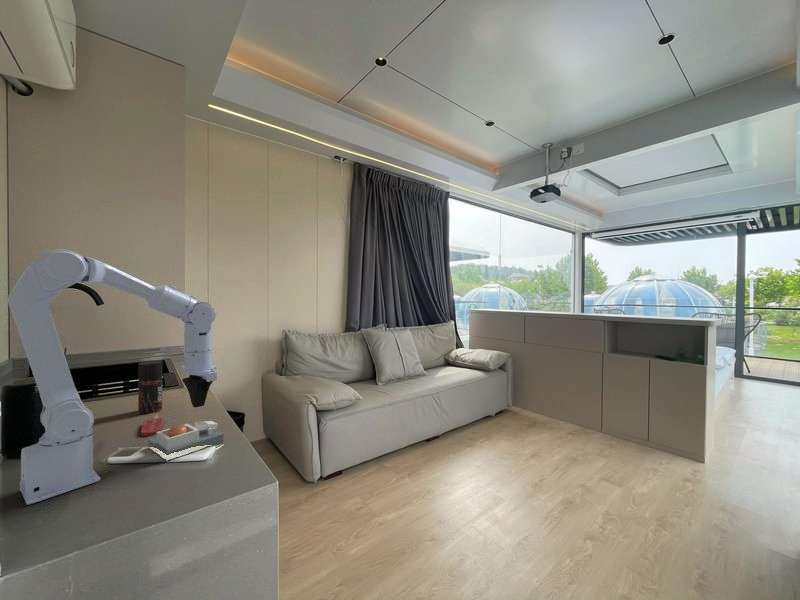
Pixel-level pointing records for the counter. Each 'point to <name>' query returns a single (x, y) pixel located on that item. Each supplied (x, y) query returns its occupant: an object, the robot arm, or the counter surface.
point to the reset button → (177, 430)
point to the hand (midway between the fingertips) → (198, 406)
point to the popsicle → (152, 426)
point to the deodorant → (149, 387)
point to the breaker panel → (185, 439)
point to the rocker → (205, 425)
